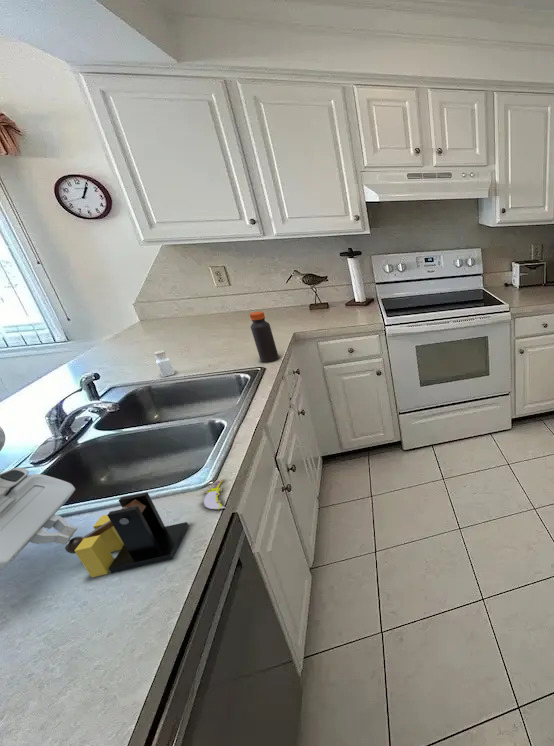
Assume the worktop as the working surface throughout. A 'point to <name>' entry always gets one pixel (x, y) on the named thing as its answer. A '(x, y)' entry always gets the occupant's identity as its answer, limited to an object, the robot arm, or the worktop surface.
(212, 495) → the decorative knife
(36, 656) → the worktop surface
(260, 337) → the bottle
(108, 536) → the butter
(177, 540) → the bracket
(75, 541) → the arm
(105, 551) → the butter
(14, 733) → the worktop surface
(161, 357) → the pepper shaker
